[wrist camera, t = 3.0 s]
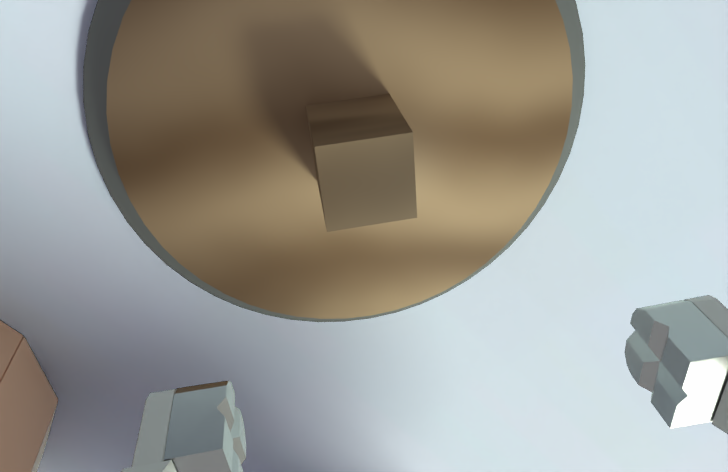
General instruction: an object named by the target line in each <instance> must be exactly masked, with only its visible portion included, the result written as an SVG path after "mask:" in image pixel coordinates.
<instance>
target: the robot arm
mask: <svg viewBox="0 0 728 472" xmlns="http://www.w3.org/2000/svg"><path fill="white" fill-rule="evenodd" d="M630 324H631V325H632V326H633V328H634V329H635V331H634V332H633V334H632V335H631V336H630V337H629V338H628V339H627V340H626V347H625V357H626V363H627V366H628V369H629V371H630V373H631V375H632V377H633V378H634V379H635V381H636V382H637V384H638V385H640V386H641V387H643V388H645V389H647V390H649V391H651V392H652V395H651V403H652V404H653V406H654V407H655V408H656V410H657V411H658V413H659V414H660V415H661V417H662V418H663V419H664V421H665V422H666V423H667V425H668V426H669V427H670V428H677V427H683V426H689V425H695V424H701V423H707V422H712V424H713V425H714V426H716V427H717V428H719V429H721V430H722V431H724V432H725V433H727V434H728V309H727V308H726V307H725V306H724V305H723V304H722V303H721V302H720V301H719V300H717V299H716V298H715V297H712V296H710V295H706V296H701V297H695V298H690V299H685V300H679V301H674V302H669V303H663V304H658V305H653V306H647V307H642V308H637V309H636V310H635V311H634V313H633V314H632V318H631V322H630ZM245 459H246V438H245V428H244V423H243V418H242V414H241V411H240V409H239V408H237V407H235V392H234V389H233V386H232V383H231V382H230V381H223V382H216V383H209V384H203V385H196V386H189V387H183V388H177V389H173V390H167V391H160V392H153V393H150V394H149V396H148V397H147V399H146V402H145V406H144V411H143V416H142V420H141V425H140V430H139V434H138V439H137V444H136V449H135V453H134V458H133V463H132V467H129V468H124V469H123V470H122V471H121V472H243V469H242V466H241V464H242V463H243V461H244V460H245Z"/></svg>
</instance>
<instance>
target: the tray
mask: <svg viewBox="0 0 728 472" xmlns="http://www.w3.org/2000/svg"><path fill="white" fill-rule="evenodd" d="M555 1H556V3H557V6H558V8H559V11H560V13H561V16H562V19H563V22H564V26H565V30H566V34H567V39H568V43H569V47H570V54H571V65H572V75H573V85H572V108H571V114H570V120H569V126H568V132H567V136H566V140H565V143H564V146H563V150H562V153H561V157H560V160H559V162H558V165H557V167H556V169H555V172H554V174H553V176H552V179H551V181H550V183H549V186H548V187H547V189H546V191H545V193H544V194H543V196H542V198H541V200H540V201H539V203H538V205H537V207H536V208H535V210H534V211H533V212H532V214H531V215H530V216H529V218H528V219H527V221H526V222H525V223H524V225H523V226H522V227H521V229H520V230H519V231H518V232H517V233H516V234H515V235H514V236H513V238H512V239H511V240H510V241H509V242H508V243H507V244H506V245H505V246H504V247H503V248H502V249H501V250H500V251H499V252H498V253H497V254H496V255H495V256H493V257H492V258H491V259H490V260H489V261H488V262H487V263H486V264H484V265H483V266H482V267H480V268H479V269H478V270H476V271H475V272H473V273H472V274H471V275H469V276H468V277H467V278H465V279H464V280H462V281H460V282H459V283H457V284H455V285H453V286H452V287H450V288H448V289H446V290H445V291H443V292H441V293H439V294H437V295H434V296H432V297H430V298H428V299H425V300H423V301H421V302H419V303H416V304H413V305H410V306H407V307H404V308H401V309H398V310H394V311H389V312H385V313H381V314H376V315H372V316H363V317H355V318H345V319H318V318H306V317H296V316H291V315H286V314H281V313H276V312H271V311H268V310H265V309H262V308H258V307H255V306H252V305H249V304H246V303H244V302H242V301H240V300H237V299H235V298H233V297H230V296H228V295H226V294H224V293H222V292H221V291H219V290H217V289H215V288H214V287H212V286H210V285H209V284H207V283H205V282H203V281H202V280H201V279H199V278H198V277H197V276H195V275H194V274H193V273H191V272H190V271H189V270H187V269H186V268H185V267H183V266H182V265H181V264H180V263H179V262H178V261H177V260H176V259H175V258H174V257H173V256H172V255H170V254H169V253H168V252H167V251H166V250H165V249H164V248H163V247H162V246H161V244H160V243H159V242H158V241H157V239H156V238H155V237H154V236H153V234H152V233H151V232H150V231H149V229H148V228H147V227H146V226H145V224H144V223H143V221H142V219H141V218H140V216H139V214H138V213H137V211H136V209H135V208H134V206H133V204H132V203H131V201H130V199H129V197H128V195H127V192H126V190H125V188H124V185H123V183H122V181H121V178H120V176H119V174H118V170H117V167H116V163H115V159H114V156H113V152H112V149H111V145H110V138H109V130H108V122H107V114H106V112H107V79H108V73H109V67H110V61H111V55H112V49H113V46H114V43H115V40H116V37H117V34H118V31H119V28H120V25H121V22H122V18H123V16H124V14H125V12H126V10H127V8H128V6H129V4H130V2H131V0H98V2H97V5H96V8H95V12H94V15H93V18H92V21H91V25H90V28H89V32H88V39H87V45H86V52H85V59H84V66H83V102H84V109H85V116H86V122H87V129H88V135H89V139H90V142H91V146H92V149H93V153H94V156H95V159H96V163H97V166H98V168H99V171H100V173H101V175H102V177H103V180H104V182H105V184H106V186H107V188H108V191H109V193H110V195H111V197H112V198H113V200H114V202H115V203H116V205H117V206H118V208H119V210H120V211H121V213H122V214H123V216H124V218H125V219H126V221H127V222H128V223H129V225H130V226H131V227H132V228H133V230H134V231H135V232H136V233H137V234H138V236H139V237H140V238H141V239H142V241H143V242H144V243H145V244H146V245H147V246H148V247H149V248H150V249H151V250H152V251H153V252H154V253H155V254H156V255H157V256H158V257H159V258H160V259H161V260H162V261H164V262H165V263H166V264H167V265H168V266H169V267H171V268H172V269H173V270H175V271H176V272H177V273H179V274H180V275H181V276H183V277H184V278H185V279H187V280H188V281H189V282H191V283H193V284H195V285H196V286H198V287H200V288H201V289H203V290H205V291H207V292H208V293H210V294H212V295H214V296H216V297H218V298H220V299H223V300H225V301H227V302H230V303H232V304H234V305H237V306H239V307H242V308H245V309H249V310H252V311H255V312H258V313H262V314H265V315H270V316H275V317H280V318H285V319H291V320H302V321H313V322H338V321H351V320H360V319H368V318H373V317H378V316H382V315H387V314H391V313H396V312H399V311H402V310H405V309H408V308H411V307H414V306H417V305H420V304H422V303H424V302H427V301H429V300H431V299H433V298H435V297H438V296H440V295H442V294H444V293H446V292H448V291H450V290H451V289H453V288H455V287H457V286H458V285H460V284H462V283H464V282H465V281H467V280H469V279H470V278H471V277H473V276H474V275H475V274H477V273H478V272H480V271H481V270H482V269H484V268H485V267H487V266H488V265H489V264H490V263H492V262H493V261H494V260H495V259H496V258H497V257H498V256H499V255H501V254H502V253H503V252H504V251H505V250H506V249H507V248H508V247H510V245H511V244H512V243H513V242H514V241H515V240H516V239H517V238H518V237H519V236H520V235H521V233H522V232H523V231H524V230H525V229H526V228H527V227H528V226H529V224H530V223H531V222H532V220H533V219H534V217H535V216H536V215H537V213H538V212H539V211H540V209H541V208H542V207H543V205H544V204H545V202H546V200H547V199H548V197H549V195H550V193H551V192H552V190H553V188H554V186H555V185H556V183H557V181H558V179H559V177H560V175H561V173H562V170H563V168H564V166H565V163H566V161H567V159H568V157H569V154H570V151H571V148H572V145H573V141H574V138H575V135H576V132H577V128H578V125H579V119H580V114H581V108H582V102H583V96H584V79H585V57H584V44H583V33H582V28H581V24H580V19H579V15H578V10H577V5H576V1H575V0H555Z"/></svg>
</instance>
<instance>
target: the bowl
mask: <svg viewBox="0 0 728 472" xmlns="http://www.w3.org/2000/svg"><path fill="white" fill-rule="evenodd" d="M57 404H58V398H57V397H56V395H55V393H54V391H53V389H52V387H51V385H50V384H49V382H48V380H47V378H46V376H45V374H44V372H43V371H42V369H41V367H40V365H39V363H38V361H37V359H36V357H35V356H34V354H33V352H32V350H31V348H30V346H29V344H28V343H27V341H26V339H25V337H23V335H22V334H20V333H19V332H17V331H16V330H14V329H12V328H11V327H9V326H8V325H6V324H5V323H3V322H2V321H0V472H37V470H38V468H39V465H40V462H41V460H42V457H43V454H44V450H45V447H46V443H47V439H48V436H49V432H50V429H51V425H52V421H53V418H54V414H55V411H56V407H57Z"/></svg>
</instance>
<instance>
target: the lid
mask: <svg viewBox="0 0 728 472" xmlns="http://www.w3.org/2000/svg"><path fill="white" fill-rule="evenodd" d="M572 85H573V75H572V65H571V54H570V47H569V43H568V39H567V34H566V30H565V26H564V22H563V19H562V16H561V13H560V11H559V8H558V6H557V3H556V1H555V0H131V2H130V4H129V6H128V8H127V10H126V12H125V14H124V16H123V18H122V22H121V25H120V28H119V31H118V34H117V37H116V40H115V43H114V46H113V49H112V55H111V61H110V67H109V73H108V79H107V112H106V114H107V122H108V130H109V138H110V145H111V149H112V152H113V156H114V159H115V163H116V167H117V170H118V174H119V176H120V178H121V181H122V183H123V185H124V188H125V190H126V192H127V195H128V197H129V199H130V201H131V203H132V204H133V206H134V208H135V209H136V211H137V213H138V214H139V216H140V218H141V219H142V221H143V223H144V224H145V226H146V227H147V228H148V229H149V231H150V232H151V233H152V234H153V236H154V237H155V238H156V239H157V241H158V242H159V243H160V244H161V246H162V247H163V248H164V249H165V250H166V251H167V252H168V253H169V254H170V255H172V256H173V257H174V258H175V259H176V260H177V261H178V262H179V263H180V264H181V265H182V266H183V267H185V268H186V269H187V270H189V271H190V272H191V273H193V274H194V275H195V276H197V277H198V278H199V279H201V280H202V281H203V282H205V283H207V284H209V285H210V286H212V287H214V288H215V289H217V290H219V291H221V292H222V293H224V294H226V295H228V296H230V297H233V298H235V299H237V300H240V301H242V302H244V303H246V304H249V305H252V306H255V307H258V308H262V309H265V310H268V311H271V312H276V313H281V314H286V315H291V316H296V317H306V318H318V319H345V318H355V317H363V316H372V315H376V314H381V313H385V312H389V311H394V310H398V309H401V308H404V307H407V306H410V305H413V304H416V303H419V302H421V301H423V300H425V299H428V298H430V297H432V296H434V295H437V294H439V293H441V292H443V291H445V290H446V289H448V288H450V287H452V286H453V285H455V284H457V283H459V282H460V281H462V280H464V279H465V278H467V277H468V276H469V275H471V274H472V273H473V272H475V271H476V270H478V269H479V268H480V267H482V266H483V265H484V264H486V263H487V262H488V261H489V260H490V259H491V258H492V257H493V256H495V255H496V254H497V253H498V252H499V251H500V250H501V249H502V248H503V247H504V246H505V245H506V244H507V243H508V242H509V241H510V240H511V239H512V238H513V236H514V235H515V234H516V233H517V232H518V231H519V230H520V229H521V227H522V226H523V225H524V223H525V222H526V221H527V219H528V218H529V216H530V215H531V214H532V212H533V211H534V210H535V208H536V207H537V205H538V203H539V201H540V200H541V198H542V196H543V194H544V193H545V191H546V189H547V187H548V186H549V183H550V181H551V179H552V176H553V174H554V172H555V169H556V167H557V165H558V162H559V160H560V157H561V153H562V150H563V146H564V143H565V140H566V136H567V132H568V126H569V120H570V114H571V108H572Z"/></svg>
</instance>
